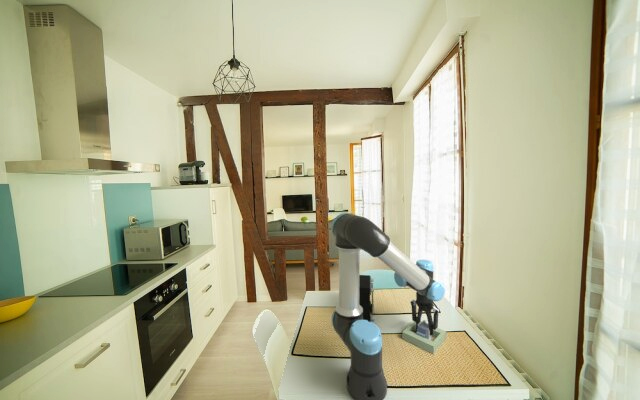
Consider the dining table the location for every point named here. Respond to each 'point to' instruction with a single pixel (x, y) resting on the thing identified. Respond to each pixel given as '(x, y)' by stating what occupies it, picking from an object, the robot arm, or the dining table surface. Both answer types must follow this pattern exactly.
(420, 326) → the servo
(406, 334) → the green tray
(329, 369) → the dining table surface
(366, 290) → the electrical component
